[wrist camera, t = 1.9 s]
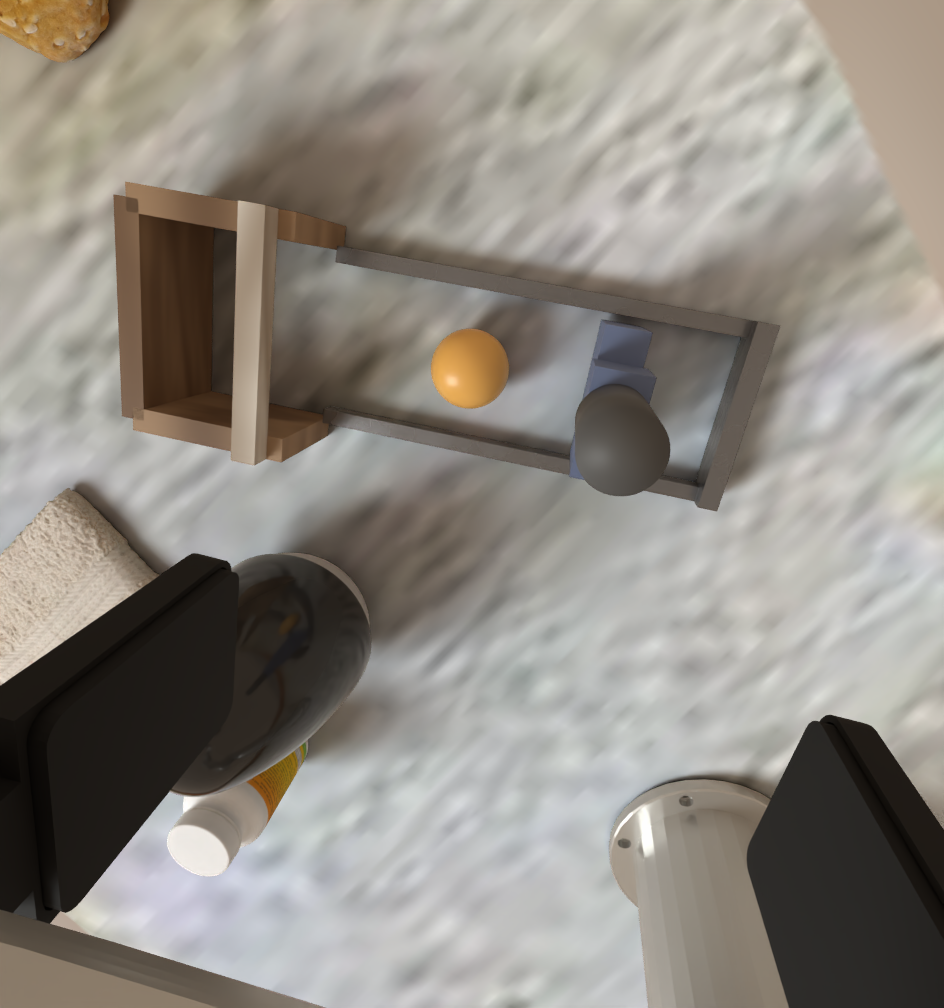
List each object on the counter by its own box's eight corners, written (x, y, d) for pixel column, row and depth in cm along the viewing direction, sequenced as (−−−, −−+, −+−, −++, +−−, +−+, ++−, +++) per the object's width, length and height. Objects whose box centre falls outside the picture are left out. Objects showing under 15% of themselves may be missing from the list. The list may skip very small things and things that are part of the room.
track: (767, 323, 30) (780, 325, 28) (708, 499, 33) (717, 511, 31) (343, 247, 32) (329, 244, 30) (329, 419, 35) (315, 426, 33)
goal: (345, 226, 31) (283, 208, 25) (327, 435, 35) (269, 468, 29) (193, 199, 32) (92, 174, 25) (192, 406, 36) (105, 432, 29)
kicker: (650, 328, 30) (701, 351, 18) (615, 460, 33) (639, 558, 20) (591, 317, 30) (602, 333, 18) (561, 448, 33) (553, 539, 21)
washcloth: (-45, 616, 46) (-86, 638, 43) (78, 476, 40) (39, 490, 37) (72, 724, 48) (39, 752, 45) (207, 605, 42) (179, 628, 39)
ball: (519, 334, 32) (511, 339, 28) (505, 408, 33) (496, 422, 29) (446, 320, 32) (429, 323, 28) (435, 393, 34) (417, 406, 30)
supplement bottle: (269, 692, 43) (186, 800, 34) (325, 741, 43) (258, 860, 34) (227, 730, 44) (138, 843, 35) (281, 777, 45) (207, 899, 36)
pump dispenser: (341, 504, 37) (194, 635, 23) (415, 643, 39) (325, 841, 25) (212, 558, 40) (10, 705, 25) (289, 685, 42) (144, 884, 28)
